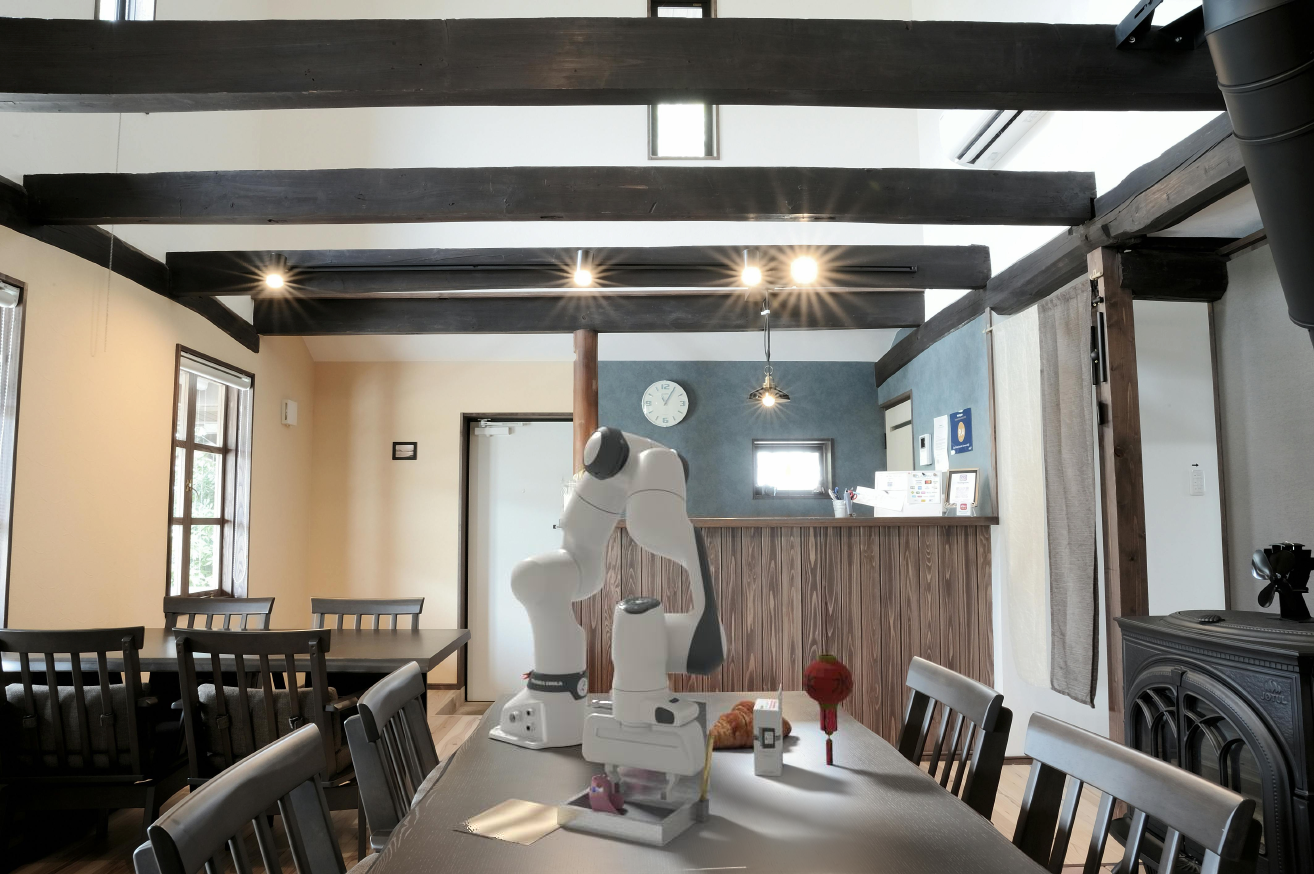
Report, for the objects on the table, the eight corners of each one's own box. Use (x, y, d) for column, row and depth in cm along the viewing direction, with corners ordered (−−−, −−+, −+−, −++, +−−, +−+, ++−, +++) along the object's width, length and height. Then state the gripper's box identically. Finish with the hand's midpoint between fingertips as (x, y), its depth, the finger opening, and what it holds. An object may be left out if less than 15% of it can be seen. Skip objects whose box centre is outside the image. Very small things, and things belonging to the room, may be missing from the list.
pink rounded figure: (598, 814, 133) (585, 771, 134) (625, 805, 133) (613, 762, 134) (595, 839, 123) (581, 793, 124) (625, 829, 124) (611, 783, 124)
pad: (452, 832, 124) (452, 827, 124) (511, 802, 137) (511, 797, 137) (527, 851, 118) (527, 845, 118) (582, 817, 130) (582, 812, 130)
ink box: (757, 760, 158) (756, 681, 159) (783, 762, 157) (782, 682, 158) (753, 775, 150) (752, 691, 151) (781, 777, 149) (779, 692, 150)
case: (557, 828, 126) (557, 710, 127) (612, 795, 140) (612, 689, 141) (669, 853, 116) (668, 725, 118) (717, 815, 130) (715, 701, 132)
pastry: (776, 756, 161) (775, 714, 162) (700, 749, 166) (700, 708, 167) (792, 733, 177) (791, 695, 178) (722, 727, 182) (722, 690, 183)
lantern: (794, 759, 158) (791, 600, 161) (835, 753, 162) (832, 597, 164) (823, 774, 150) (819, 605, 152) (866, 767, 153) (861, 602, 156)
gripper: (573, 702, 131) (574, 793, 130) (690, 715, 121) (692, 813, 120) (595, 694, 137) (596, 781, 135) (708, 706, 127) (710, 799, 126)
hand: (642, 796), depth 128 cm, fingers open, 7 cm apart
